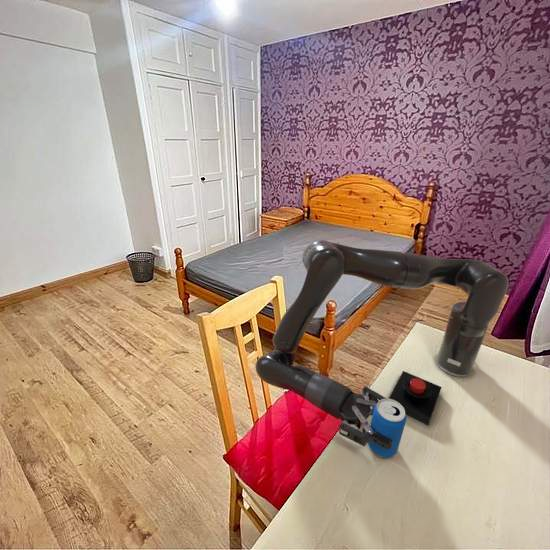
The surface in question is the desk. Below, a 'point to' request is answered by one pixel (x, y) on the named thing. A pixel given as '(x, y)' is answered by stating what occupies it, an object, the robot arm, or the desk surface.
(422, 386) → the plunger
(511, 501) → the desk surface
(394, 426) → the beverage can
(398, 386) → the button housing
